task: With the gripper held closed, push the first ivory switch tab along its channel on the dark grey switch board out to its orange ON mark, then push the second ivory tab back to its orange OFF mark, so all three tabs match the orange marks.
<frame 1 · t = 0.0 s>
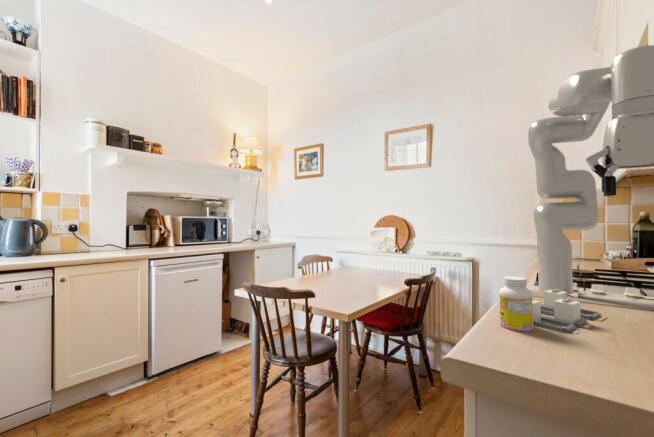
hand: (638, 194, 65), 31 cm above the worktop, fingers open, 9 cm apart
supplement bottle: (516, 333, 74), on the worktop
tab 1: (555, 299, 87), point 4 cm above the worktop, slide at 0.0 cm
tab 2: (567, 310, 77), point 4 cm above the worktop, slide at 6.0 cm
switch board: (557, 322, 80), on the worktop
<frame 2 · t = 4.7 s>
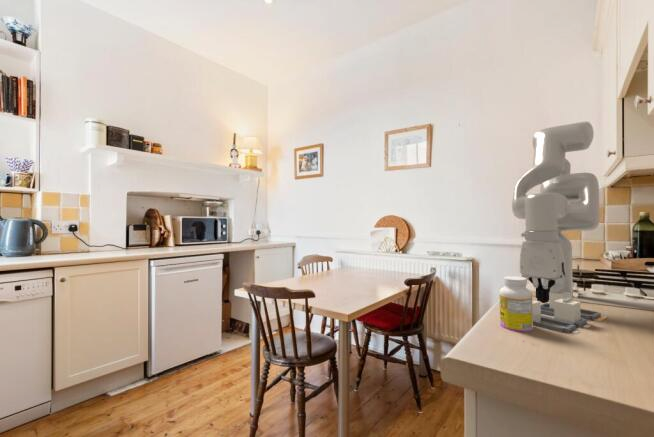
hand: (543, 301, 89), 3 cm above the worktop, fingers closed
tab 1: (561, 300, 85), point 4 cm above the worktop, slide at 1.3 cm, touching gripper
everything else where it was.
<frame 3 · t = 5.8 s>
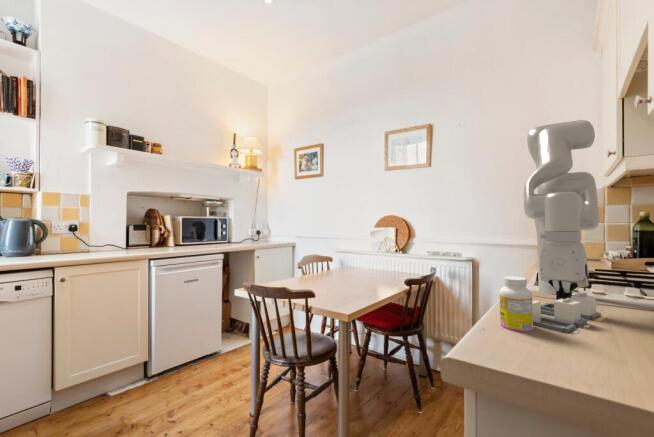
hand: (564, 305, 85), 3 cm above the worktop, fingers closed
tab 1: (583, 304, 81), point 4 cm above the worktop, slide at 6.3 cm, touching gripper, switch board
everything else where it was.
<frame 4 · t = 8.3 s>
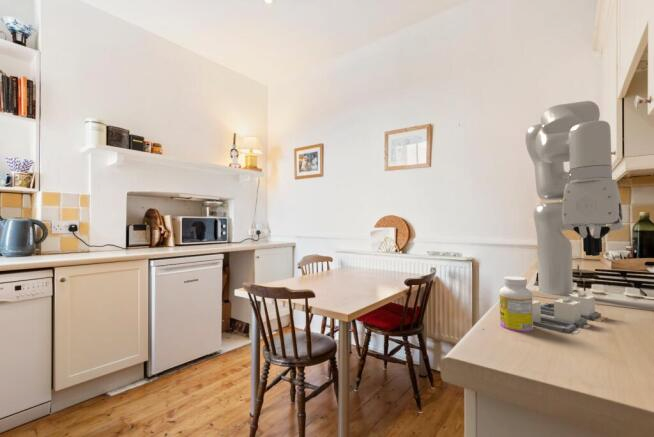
hand: (592, 255, 73), 18 cm above the worktop, fingers closed
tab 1: (582, 304, 81), point 4 cm above the worktop, slide at 6.0 cm
everything else where it was.
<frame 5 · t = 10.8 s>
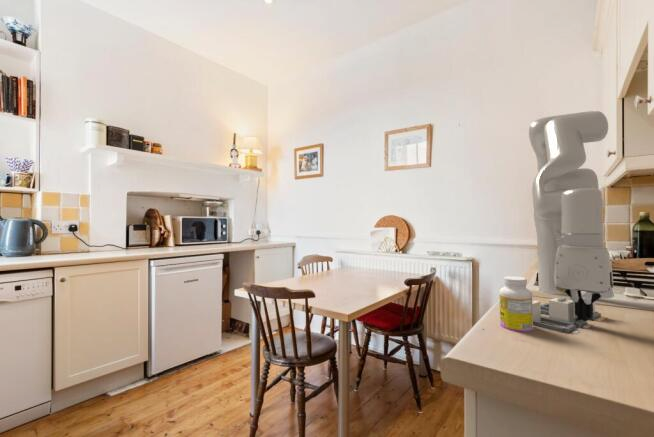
hand: (584, 319, 74), 3 cm above the worktop, fingers closed
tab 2: (561, 309, 78), point 4 cm above the worktop, slide at 4.9 cm, touching gripper
everything else where it was.
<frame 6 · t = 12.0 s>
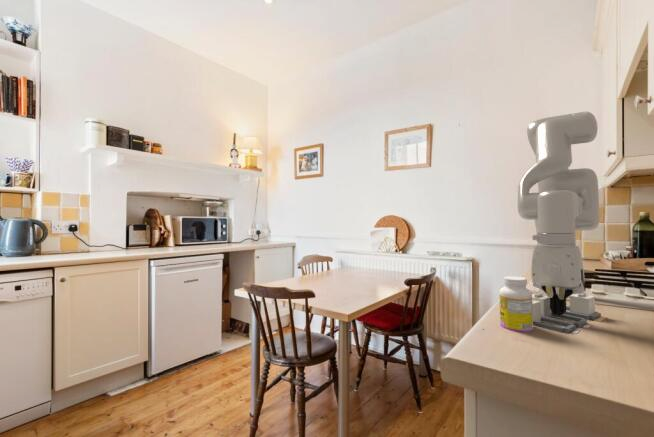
hand: (558, 313, 78), 3 cm above the worktop, fingers closed
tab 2: (538, 305, 82), point 4 cm above the worktop, slide at -0.3 cm, touching gripper, switch board
everything else where it was.
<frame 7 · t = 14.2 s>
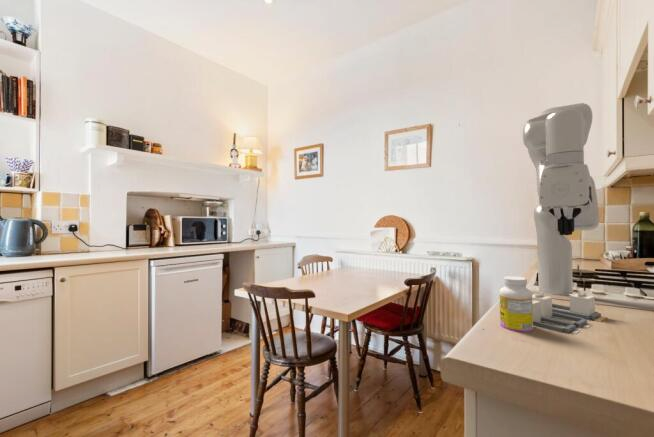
hand: (566, 234, 79), 22 cm above the worktop, fingers closed
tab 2: (539, 305, 82), point 4 cm above the worktop, slide at 0.0 cm
everything else where it was.
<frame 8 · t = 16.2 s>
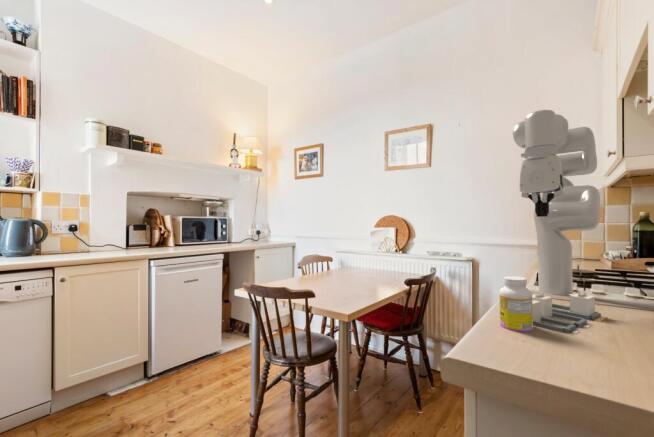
hand: (542, 216, 93), 27 cm above the worktop, fingers closed
nothing on the worktop moved.
at the end: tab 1 slide at 6.0 cm; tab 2 slide at 0.0 cm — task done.
